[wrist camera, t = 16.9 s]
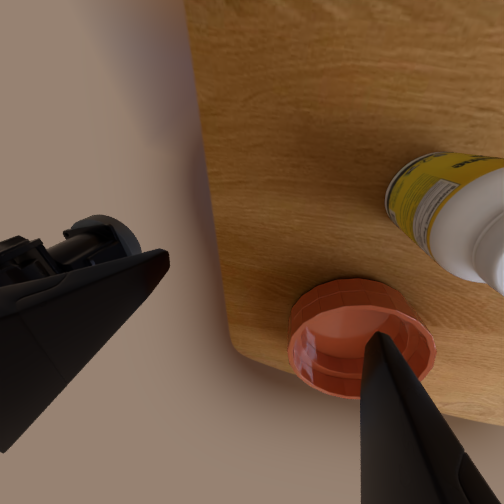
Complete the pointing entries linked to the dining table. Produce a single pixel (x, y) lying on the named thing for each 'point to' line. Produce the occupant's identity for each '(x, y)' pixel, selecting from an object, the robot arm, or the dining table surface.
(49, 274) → the robot arm
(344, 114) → the dining table surface
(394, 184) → the pill bottle
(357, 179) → the dining table surface
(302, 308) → the bowl
